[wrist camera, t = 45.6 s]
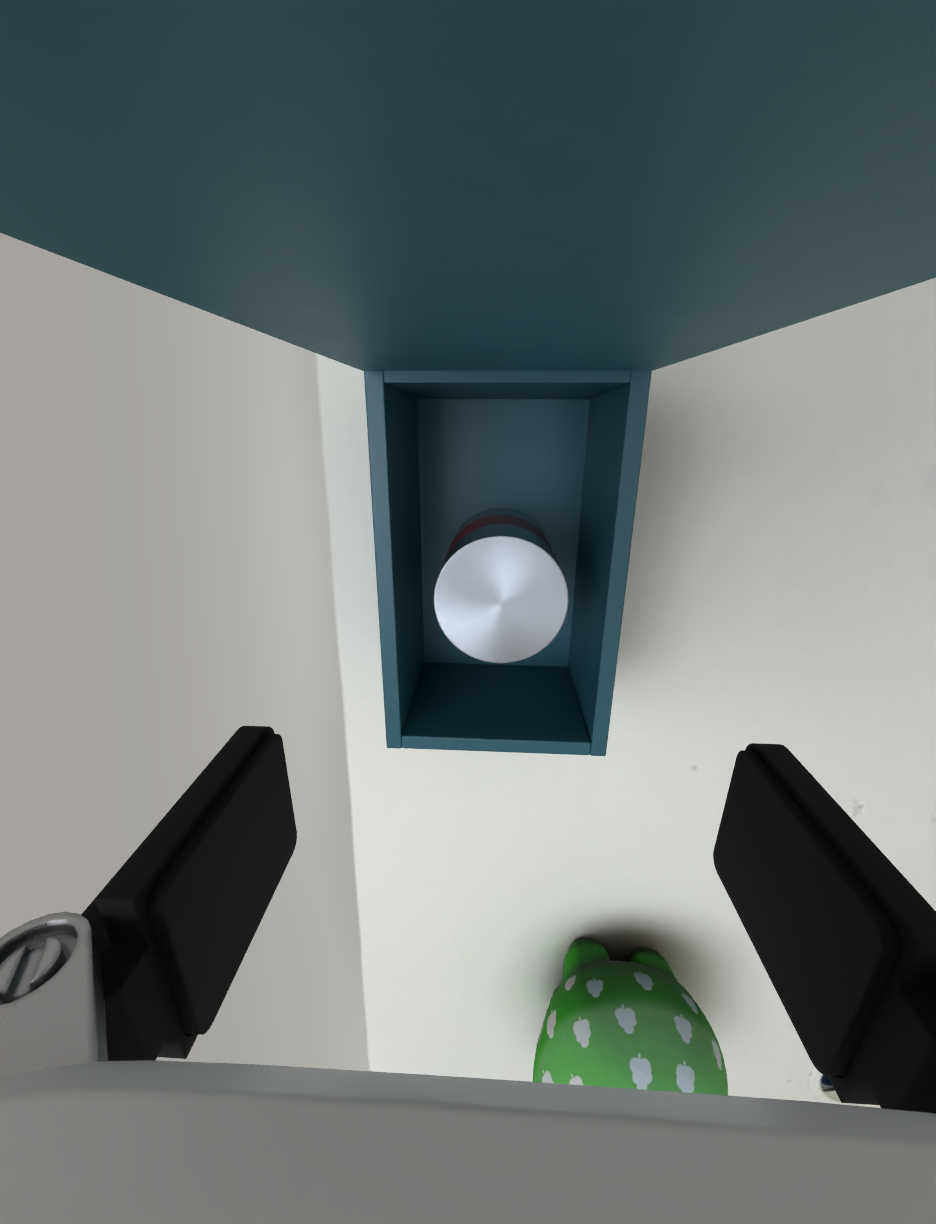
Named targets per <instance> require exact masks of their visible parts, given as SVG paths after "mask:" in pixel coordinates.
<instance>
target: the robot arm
mask: <svg viewBox="0 0 936 1224" xmlns="http://www.w3.org/2000/svg"><path fill="white" fill-rule="evenodd" d="M296 839H297V831H296V825H295V818H294V813H293V806H292V799H291V793H290V787H289V780H288V774H287V767H286V762H285V754H284V748H283V742H282V737H281V736H280V735H279V734H274V731H273V729H272V728H271V727H263V726H262V727H261V726H242V727H240V728H239V729H238V730H237V731H236V732H235V734H234V735H233V736H232V737H231V738H230V740H229V741H228V742H227V743H226V744H225V746H224V747H223V748H222V749H221V750H220V751H219V753H218V754H217V755H216V756H215V757H214V759H213V760H212V761H211V762H210V763H209V765H208V766H207V767H206V768H205V769H204V770H203V772H202V773H201V774H200V775H199V776H198V777H197V779H196V780H195V781H194V782H193V783H192V785H191V786H190V787H189V788H188V789H187V791H186V792H185V793H184V794H183V795H182V796H181V798H180V799H179V800H178V801H177V802H176V804H175V805H174V806H173V807H172V808H171V809H170V811H169V812H168V813H167V814H166V815H165V817H164V818H163V819H162V820H161V821H160V822H159V824H158V825H157V826H156V827H155V828H154V830H153V831H152V832H151V833H150V834H149V835H148V837H147V838H146V839H145V840H144V841H143V842H142V844H141V845H140V846H139V847H138V848H137V850H136V851H135V852H134V853H133V854H132V855H131V857H130V858H129V859H128V860H127V861H126V863H125V864H124V865H123V866H122V867H121V869H120V870H119V871H118V872H117V873H116V874H115V876H114V877H113V878H112V879H111V880H110V881H109V883H108V884H107V885H106V886H105V887H104V889H103V890H102V891H101V892H100V893H99V894H98V896H97V897H96V898H95V899H94V900H93V902H92V903H91V904H90V905H89V906H88V907H87V909H86V910H85V911H84V912H83V913H82V915H80V914H77V913H70V912H61V913H54V914H48V915H45V916H43V917H40V918H37V919H34V920H31V921H29V922H27V923H25V924H23V925H21V926H19V927H17V928H15V929H13V930H12V931H10V932H8V933H7V934H5V935H4V936H3V937H1V938H0V1224H936V911H935V910H934V909H933V908H932V907H931V906H930V905H929V904H928V903H927V901H926V900H925V899H924V898H923V897H922V896H921V895H920V894H919V893H918V892H917V890H916V889H915V888H914V887H913V886H912V885H911V884H910V883H909V882H908V881H907V879H906V878H905V877H904V876H903V875H902V874H901V873H900V872H899V871H898V870H897V868H896V867H895V866H894V865H893V864H892V863H891V862H890V861H889V860H888V859H887V857H886V856H885V855H884V854H883V853H882V852H881V851H880V850H879V849H878V848H877V846H876V845H875V844H874V843H873V842H872V841H871V840H870V839H869V838H868V837H867V836H866V834H865V833H864V832H863V831H862V830H861V829H860V828H859V827H858V826H857V825H856V823H855V822H854V821H853V820H852V819H851V818H850V817H849V816H848V815H847V814H846V812H845V811H844V810H843V809H842V808H841V807H840V806H839V805H838V804H837V803H836V801H835V800H834V799H833V798H832V797H831V796H830V795H829V794H828V793H827V792H826V790H825V789H824V788H823V787H822V786H821V785H820V784H819V783H818V782H817V781H816V779H815V778H814V777H813V776H812V775H811V774H810V773H809V772H808V771H807V770H806V768H805V767H804V766H803V765H802V764H801V763H800V762H799V761H798V760H797V759H796V757H795V756H794V755H793V754H792V753H791V752H790V751H789V750H788V749H787V748H786V747H785V746H784V745H780V744H753V743H752V744H749V745H748V746H747V747H746V750H745V751H740V752H739V753H738V755H737V758H736V762H735V766H734V770H733V774H732V778H731V782H730V787H729V791H728V795H727V799H726V803H725V807H724V811H723V815H722V819H721V823H720V827H719V831H718V835H717V840H716V844H715V848H714V853H713V857H714V864H715V868H716V871H717V873H718V875H719V877H720V879H721V881H722V883H723V885H724V887H725V889H726V891H727V893H728V895H729V897H730V899H731V901H732V903H733V905H734V907H735V909H736V911H737V913H738V915H739V917H740V919H741V921H742V923H743V925H744V927H745V929H746V931H747V933H748V935H749V937H750V939H751V941H752V943H753V945H754V947H755V949H756V951H757V953H758V955H759V957H760V959H761V961H762V963H763V965H764V967H765V969H766V971H767V973H768V975H769V977H770V979H771V981H772V983H773V985H774V987H775V989H776V991H777V993H778V995H779V997H780V999H781V1001H782V1003H783V1005H784V1007H785V1009H786V1011H787V1013H788V1015H789V1017H790V1019H791V1021H792V1023H793V1025H794V1027H795V1029H796V1031H797V1033H798V1035H799V1037H800V1039H801V1041H802V1043H803V1045H804V1047H805V1049H806V1051H807V1053H808V1055H809V1057H810V1059H811V1061H812V1063H813V1064H814V1066H815V1067H816V1069H817V1070H818V1071H819V1072H820V1073H822V1074H825V1075H828V1077H829V1079H830V1081H831V1083H832V1085H833V1087H834V1089H835V1091H836V1093H837V1095H838V1097H839V1099H840V1101H841V1103H856V1104H871V1105H880V1107H881V1108H872V1107H861V1106H851V1105H840V1104H829V1103H819V1102H807V1101H794V1100H780V1099H766V1098H752V1097H739V1096H725V1095H711V1094H698V1093H684V1092H670V1091H657V1090H643V1089H629V1088H614V1087H599V1086H585V1085H570V1084H555V1083H540V1082H526V1081H510V1080H495V1079H480V1078H465V1077H450V1076H435V1075H419V1074H403V1073H386V1072H370V1071H352V1070H336V1069H320V1068H319V1069H318V1068H303V1067H287V1066H271V1065H270V1066H269V1065H254V1064H253V1065H252V1064H227V1063H202V1062H177V1061H155V1060H156V1058H157V1057H169V1058H183V1059H186V1058H187V1056H188V1054H189V1052H190V1050H191V1047H192V1046H193V1043H194V1042H195V1039H196V1037H197V1035H198V1034H205V1033H206V1032H207V1031H208V1029H209V1028H210V1027H211V1025H212V1023H213V1021H214V1019H215V1017H216V1015H217V1012H218V1010H219V1008H220V1006H221V1004H222V1002H223V1000H224V998H225V996H226V994H227V991H228V989H229V987H230V985H231V983H232V981H233V979H234V977H235V975H236V972H237V970H238V968H239V966H240V964H241V962H242V960H243V957H244V955H245V953H246V951H247V949H248V947H249V945H250V943H251V941H252V939H253V936H254V934H255V932H256V930H257V928H258V926H259V924H260V922H261V919H262V917H263V915H264V913H265V911H266V909H267V907H268V905H269V902H270V900H271V898H272V896H273V894H274V892H275V890H276V888H277V885H278V884H279V881H280V879H281V877H282V875H283V873H284V871H285V868H286V867H287V864H288V862H289V860H290V858H291V856H292V854H293V851H294V849H295V845H296Z"/></svg>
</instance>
